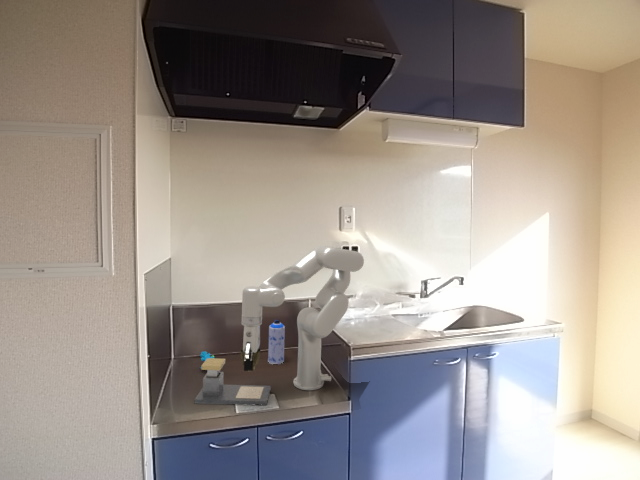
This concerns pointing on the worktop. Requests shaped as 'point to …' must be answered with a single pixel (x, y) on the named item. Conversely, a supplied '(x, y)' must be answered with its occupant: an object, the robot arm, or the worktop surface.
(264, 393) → the base
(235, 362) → the worktop surface
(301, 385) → the robot arm
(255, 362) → the dark brown rounded piece
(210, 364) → the plate
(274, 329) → the aerosol can
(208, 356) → the gear
